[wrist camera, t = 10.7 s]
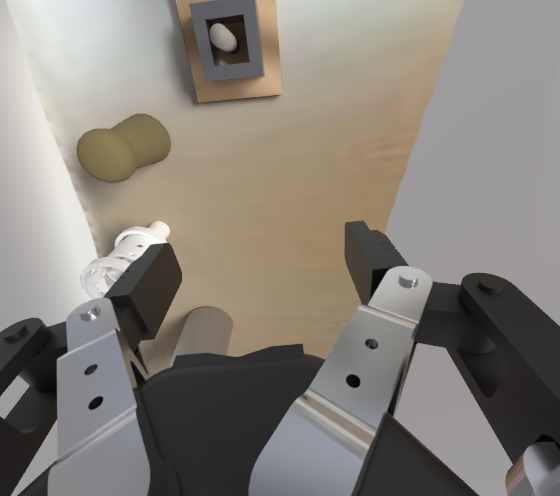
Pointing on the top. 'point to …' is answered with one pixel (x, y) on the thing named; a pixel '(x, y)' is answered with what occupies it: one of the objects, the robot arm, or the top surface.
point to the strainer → (122, 255)
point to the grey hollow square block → (225, 10)
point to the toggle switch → (234, 54)
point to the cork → (123, 148)
